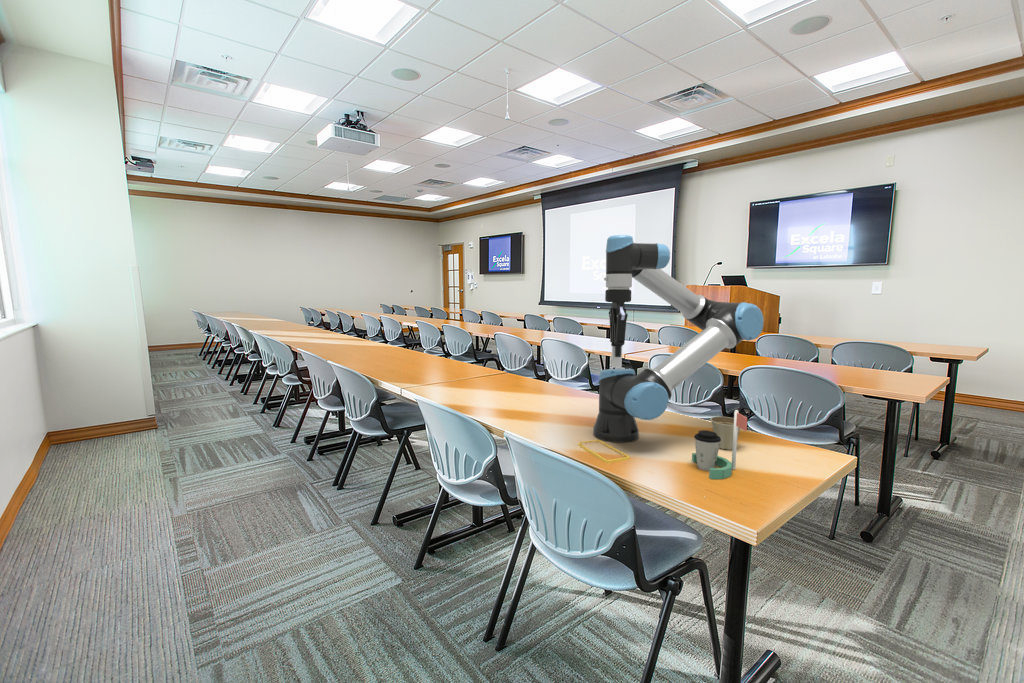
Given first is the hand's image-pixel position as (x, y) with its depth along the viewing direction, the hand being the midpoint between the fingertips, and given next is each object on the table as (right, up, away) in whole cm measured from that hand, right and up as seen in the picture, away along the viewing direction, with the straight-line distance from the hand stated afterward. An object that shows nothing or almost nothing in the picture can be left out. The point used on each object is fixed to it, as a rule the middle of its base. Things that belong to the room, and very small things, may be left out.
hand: (616, 367), depth 137 cm
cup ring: (+25, -28, -12) cm, 39 cm away
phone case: (-4, -27, +3) cm, 27 cm away
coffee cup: (+23, -28, -10) cm, 37 cm away
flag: (+30, -28, -14) cm, 43 cm away
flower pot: (+36, -26, +7) cm, 45 cm away
